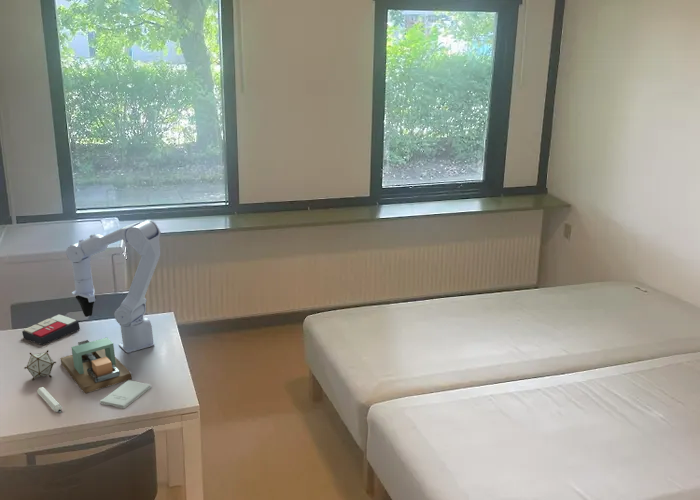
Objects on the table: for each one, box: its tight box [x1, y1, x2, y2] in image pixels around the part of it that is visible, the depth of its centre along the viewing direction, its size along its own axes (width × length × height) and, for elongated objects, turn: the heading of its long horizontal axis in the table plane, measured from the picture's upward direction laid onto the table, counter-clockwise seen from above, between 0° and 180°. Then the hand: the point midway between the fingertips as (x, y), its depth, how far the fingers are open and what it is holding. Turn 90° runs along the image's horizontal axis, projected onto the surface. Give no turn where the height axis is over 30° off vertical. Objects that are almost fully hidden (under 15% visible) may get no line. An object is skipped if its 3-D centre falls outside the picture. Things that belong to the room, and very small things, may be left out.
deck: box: [60, 349, 133, 394], centre depth 209 cm, size 14×24×2 cm, turn 38°
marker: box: [36, 386, 63, 414], centre depth 191 cm, size 3×2×16 cm
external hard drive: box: [99, 379, 152, 409], centre depth 196 cm, size 2×8×12 cm
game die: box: [23, 349, 57, 381], centre depth 205 cm, size 9×8×10 cm
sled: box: [77, 339, 120, 383], centre depth 208 cm, size 7×22×4 cm, turn 38°
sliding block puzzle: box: [21, 314, 81, 346], centre depth 236 cm, size 11×4×15 cm
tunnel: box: [71, 337, 116, 374], centre depth 208 cm, size 11×6×7 cm, turn 128°
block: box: [92, 357, 113, 376], centre depth 202 cm, size 4×4×4 cm
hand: (88, 315), depth 227 cm, fingers closed
